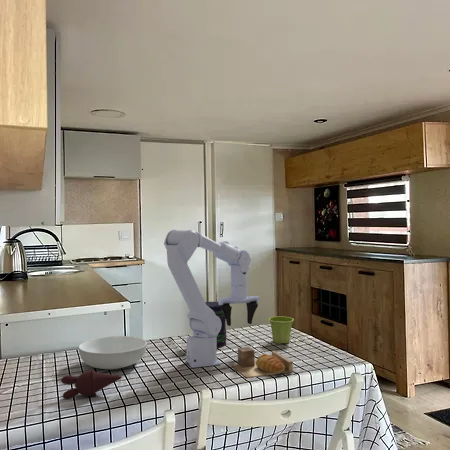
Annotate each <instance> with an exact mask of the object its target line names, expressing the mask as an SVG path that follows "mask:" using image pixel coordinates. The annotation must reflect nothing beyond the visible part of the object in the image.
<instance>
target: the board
mask: <svg viewBox="0 0 450 450" xmlns="http://www.w3.org/2000/svg"><path fill="white" fill-rule="evenodd" d="M271 356H274V357H277V358H278V359H279V360H281V362H282V363H283V364H284V366H285V369H284V371H283V372H280V373H269V372H266V371H263V370H261V369H260V368H258V367H257V365H256V361H255V366H253V367H245V368H242V367H241V366H240V365H239V364H238V363H233V364H231V367H233V368H234V369H235V370H236V371H238V373H240V374H241V375H242V376H243V377H245V379H249V378H257V377H264V376H271V375H278V374H281V375H282V374H286V373H288V372H289V373H293V372H294V371H293V367H294V363H293V360H291V359H289V358H288V357H286V356H284V355H283V354H281V353H279V352H277V351H276V350H272V351H271ZM289 373H288V374H289Z"/></svg>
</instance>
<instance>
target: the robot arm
mask: <svg viewBox="0 0 450 450" xmlns="http://www.w3.org/2000/svg"><path fill="white" fill-rule="evenodd" d="M163 245H164V247H165V249H166V257H167V258H166V262H167V266H168V268H169V270H170V273H171V274H172V277H173V279H174V281H175V283H176V285H177V287H178V289H179V291H180V293H181V296H182V297H183V300H184V301H185V303H186V304H185V305H187V307H188V309H189V311H188V313H187V318H188V321H189V322H188V323H189V324H188V325H189V328H190V329H191V331H192V334H193V335H190V336H187V338H186V359H185V360H186V363H188V365H189V366H190V367H191V368H193V369H194V368H201V367H202V368H203V367H211V366H219V365H221V363H222V362H221V361H220V360H218V358H217V357H218V355H217V353H218V351H217V336H218V333H219V332H220V330H221V326H222V323H221V320H220V318H219V317H218V316H216V315H215V313H214V311H213V310H212V309H211V308H209V307H208V306H207V305H206V303H205V302H206V301H205V299H204V297H203V295H202V292H201V290H200V288H199V286H198V284H197V282H196V280H195V277H194V276H193V273H192V272H191V269H190V267H189V265H188V261H190V259H191V258H192V256H193V254H195V253H194V252H195V251H196V250H197V248H201V249H203V250H206V251H209V252H212V253H213V255H214V257H215V258H216V259H218V260H221V261H223V262H225V263H227V265H228V266H230V296H229V297H221V298H218V300H217V302H218V304H219V305H221V308H222V310H223V312H224V315H225V318H226V326H228V327H231V326H232V318H231V316H232V309H233V307H232V306H231V305H233V304H235V305H236V304H246V313H247V315H246V317H247V319H246V320H247V324H249V325H252V323H253V319H254V315H255V312H256V310H257V308H258V307H259V306H258V305H259V303H260V302H261V301H260V299H261V298H260V296H259V295H252V296H251V295H248V272H249V266H250V264H251V261H252V258H251V256H250V254H249V253H248V251H247V250H242V249H239V247H238V246H233V245H230V243H229V242H228V241H227V240H226V241H224V240H223V241H220V242H217V241H215V240H213V239H211V238H209V237H208V236H205V234H202V233H201V232H199V231H196V230H193V229H188V230H181V229H180V230H177V229H172V230H170V231H168V233H167V234H166V237H165V238H164V242H163Z"/></svg>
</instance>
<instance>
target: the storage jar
mask: <svg viewBox="0 0 450 450" xmlns="http://www.w3.org/2000/svg"><path fill="white" fill-rule="evenodd" d="M205 303H206V305H207V306H208V307H209V308H211V309H212V310H213V311H214V313H215V315H216V316H218V317H219V318H220V320H221V323H222V326H221V330H220V332H219V333H218V336H217V348H222V347H225V346H226V345H227V329H226V326H227V322H226V318H225V315H224V312H223V310H222V308H221V305H219V304H218V301H205Z"/></svg>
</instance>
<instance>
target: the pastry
mask: <svg viewBox="0 0 450 450" xmlns="http://www.w3.org/2000/svg"><path fill="white" fill-rule="evenodd" d="M255 362H256V365H257V367H258V368H260V369H261V370H263V371H266V372H269V373H280V372H283V371H284V369H285V366H284V364H283V363H282V362H281V360H279V359H278V358H277V357H274V356H272V355H269V354H266V353H262V354H260V356H257V359H256V361H255Z"/></svg>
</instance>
